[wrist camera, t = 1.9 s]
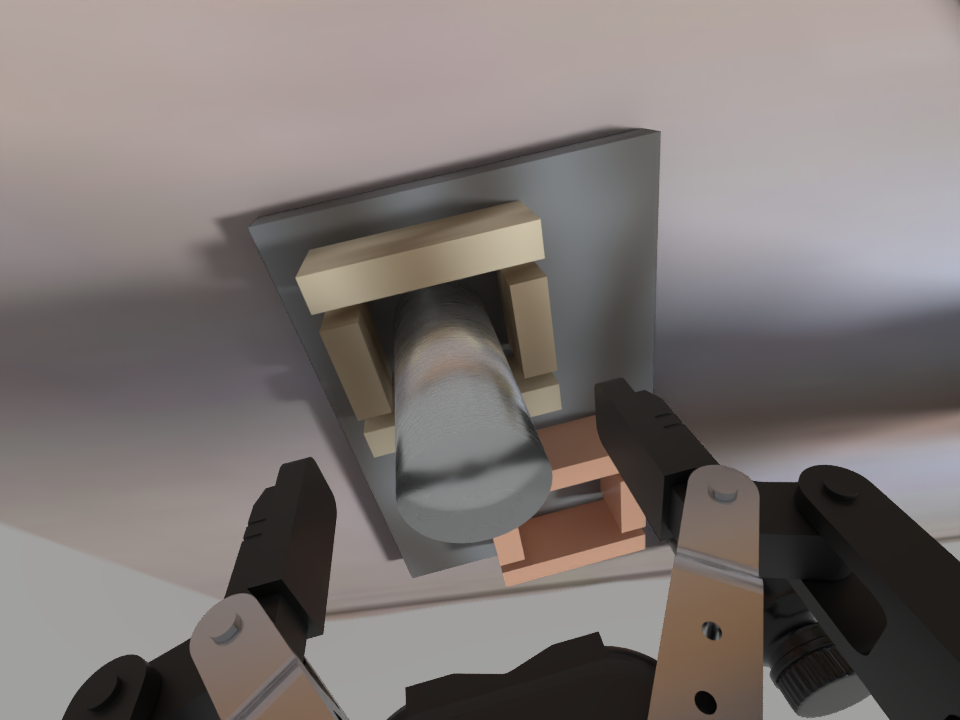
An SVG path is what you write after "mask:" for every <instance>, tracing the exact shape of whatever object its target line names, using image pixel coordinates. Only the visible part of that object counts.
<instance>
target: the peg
mask: <svg viewBox="0 0 960 720" xmlns="http://www.w3.org/2000/svg"><path fill="white" fill-rule="evenodd" d="M394 370H395V476H396V504H397V507H398V510H399V513H400V514H401V516H402V518H403V519H404V520H405V522H406V523H407V524H408V525H409V526H410V527H411V528H412V529H414V530H415V531H417V532H418V533H420V534H422V535H424V536H426V537H429V538H432V539H434V540H438V541H443V542H450V543H472V542H479V541H484V540H489V539H492V538H495V537H499V536H501V535H504V534H506V533H508V532H510V531H512V530H514V529H516V528H518V527H519V526H521V525H522V524H524V523H525V522H526V521H528V520H529V519H530V518H531V517H532V516H533V515H534V514H536V513H537V511H538V510H539V509H540V508H541V507H542V505H543V504H544V502H545V501H546V499H547V497H548V495H549V493H550V489H551V486H552V479H553V477H552V468H551V464H550V462H549V459H548V457H547V454H546V452H545V450H544V447H543V445H542V442H541V440H540V438H539V435H538V433H537V431H536V428H535V426H534V423H533V421H532V419H531V416H530V414H529V412H528V409H527V407H526V404H525V402H524V400H523V397H522V395H521V392H520V390H519V388H518V385H517V383H516V381H515V378H514V376H513V373H512V371H511V369H510V366H509V364H508V362H507V359H506V357H505V354H504V352H503V350H502V347H501V345H500V342H499V340H498V338H497V335H496V333H495V331H494V328H493V326H492V323H491V321H490V319H489V316H488V314H487V312H486V309H485V307H484V304H483V302H482V300H481V298H480V296H479V294H478V293H477V292H476V291H475V289H474V288H473V287H471V286H470V285H469V284H468V283H466V282H464V281H462V280H460V279H458V280H454V281H450V282H446V283H442V284H437V285H433V286H429V287H425V288H421V289H417V290H413V291H409V292H404V293H403V294H402V295H401V297H400V298H399V300H398V302H397V305H396V308H395V312H394Z"/></svg>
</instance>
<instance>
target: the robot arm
mask: <svg viewBox="0 0 960 720" xmlns="http://www.w3.org/2000/svg"><path fill="white" fill-rule="evenodd" d="M594 393H595V412H596V427H597V432H598V435H599V438H600V441H601V443H602V445H603V447H604V448H605V450H606V452H607V453H608V455H609V457H610V458H611V460H612V462H613V463H614V465H615V467H616V468H617V470H618V472H619V473H620V475H621V477H622V478H623V480H624V482H625V483H626V485H627V487H628V488H629V490H630V492H631V493H632V495H633V497H634V498H635V500H636V502H637V503H638V505H639V507H640V508H641V510H642V512H643V513H644V515H645V517H646V518H647V520H648V522H649V523H650V525H651V527H652V528H653V530H654V532H655V533H656V535H657V537H658V538H659V540H660V541H663V540H666V539H670V538H673V537H674V538H675V540H676V541H677V543H678V546H677V551H676V553H675V557H674V563H673V569H672V575H671V582H670V587H669V593H668V600H667V605H666V611H665V618H664V623H663V629H662V635H661V641H660V647H659V653H658V660H655V659H653V658H651V657H649V656H647V655H645V654H642V653H640V652H637V651H633V650H630V649H627V648H621V647H614V646H604V644H603V642H602V639H601V637H600V634H599V632H595V633H592V634H589V635H585V636H581V637H578V638H575V639H571V640H568V641H564V642H561V643H557V644H554V645H551V646H550V647H548V648H547V649H545V650H543V651H542V652H540V653H539V654H537V655H536V656H534V657H532V658H531V659H529V660H528V661H526V662H525V663H523V664H521V665H520V666H518V667H517V668H515V669H514V670H512V671H510V672H508V673H506V674H451V675H447V676H444V677H440V678H437V679H433V680H430V681H426V682H423V683H419V684H416V685H413V686H409V687H406V705H405V706H403V707H401V708H400V709H399V710H397V711H396V712H395V713H394V714H393V715H392V716H390V717H389V718H388V719H387V720H763V580H762V578H761V577H763V578H782V579H787V581H788V582H789V583H790V585H791V586H792V587H793V589H794V590H795V591H796V593H797V594H798V595H799V597H800V598H801V600H802V601H803V602H804V604H805V605H806V606H807V608H808V609H809V610H810V612H811V613H812V615H813V616H814V617H815V619H816V620H817V621H818V623H819V624H820V625H821V627H822V628H823V630H824V631H825V632H826V634H827V635H828V636H829V638H830V639H831V640H832V642H833V643H834V645H835V646H836V647H837V649H838V650H839V651H840V653H841V654H842V655H843V657H844V658H845V659H846V661H847V662H848V664H849V665H850V666H851V668H852V669H853V670H854V672H855V673H856V674H857V676H858V677H859V679H860V680H861V681H862V683H863V684H864V685H865V687H866V688H867V689H868V691H869V692H870V694H871V695H872V696H873V698H874V699H875V700H876V702H877V703H878V704H879V706H880V707H881V708H882V710H883V711H884V713H885V714H886V715H887V717H888V718H889V719H890V720H960V562H959V561H958V560H957V559H956V558H955V557H954V556H953V555H952V554H951V553H949V552H948V551H947V550H946V549H945V548H944V547H943V546H942V545H940V544H939V543H938V542H937V541H936V540H935V539H934V538H933V537H932V536H930V535H929V534H928V533H927V532H926V531H925V530H924V529H923V528H921V527H920V526H919V525H918V524H917V523H916V522H915V521H914V520H913V519H911V518H910V517H909V516H908V515H907V514H906V513H905V512H904V511H902V510H901V509H900V508H899V507H898V506H897V505H896V504H895V503H894V502H892V501H891V500H890V499H889V498H888V497H887V496H886V495H885V494H883V493H882V492H881V491H880V490H879V489H878V488H877V487H876V486H875V485H873V484H872V483H871V482H870V481H869V480H867V479H866V478H864V477H863V476H861V475H859V474H857V473H855V472H853V471H851V470H848V469H845V468H842V467H838V466H832V465H817V466H812V467H809V468H807V469H805V470H804V471H803V472H802V473H801V475H800V477H799V480H798V482H757V481H752V480H751V479H750V478H749V477H748V476H747V475H745V474H744V473H742V472H740V471H738V470H736V469H734V468H731V467H727V466H722V465H720V464H719V463H718V462H717V461H716V460H715V459H714V458H713V457H712V456H711V454H710V453H709V452H708V451H707V450H706V449H705V448H704V446H703V445H702V444H701V443H700V442H699V441H698V440H697V438H696V437H695V436H694V435H693V434H692V433H691V432H690V430H689V429H688V428H687V427H686V426H685V425H683V424H682V421H681V420H680V419H679V418H678V417H677V416H676V414H673V411H672V410H671V409H670V408H669V406H668V405H667V404H666V403H665V402H664V401H663V400H662V399H661V398H659V397H657V396H656V395H654V394H652V393H650V392H648V391H646V390H642V391H639V392H635V391H634V390H633V389H632V388H631V386H630V385H629V384H628V383H627V382H626V380H625V379H624V378H622V377H619V378H616V379H612V380H608V381H604V382H600V383H596V384H595V387H594ZM336 517H337V509H336V502H335V499H334V496H333V493H332V491H331V489H330V488H329V486H328V484H327V482H326V480H325V478H324V476H323V475H322V473H321V471H320V469H319V467H318V465H317V464H316V462H315V460H314V459H313V458H311V457H308V458H305V459H301V460H297V461H293V462H289V463H285V464H283V465H282V466H281V467H280V470H279V473H278V477H277V481H276V484H275V486H273V487H269V488H266V489H265V490H264V492H263V493H262V494H261V496H260V497H259V499H258V500H257V501H256V503H255V504H254V506H253V508H252V512H251V515H250V518H249V521H248V527H247V528H246V531H245V534H244V537H243V539H244V541H243V542H242V544H241V547H240V550H239V553H238V556H237V559H236V563H235V566H234V569H233V572H232V575H231V579H230V582H229V585H228V588H227V591H226V595H225V597H224V599H223V600H222V601H220V602H218V603H217V604H216V605H214V606H213V607H212V608H211V609H210V610H209V611H208V612H207V613H206V614H205V615H204V616H203V617H202V619H201V620H200V621H199V623H198V624H197V626H196V628H195V629H194V632H193V634H192V637H191V638H190V639H188V640H187V641H185V642H184V643H182V644H180V645H178V646H177V647H175V648H173V649H171V650H170V651H168V652H166V653H164V654H163V655H161V656H159V657H158V658H156V659H154V660H152V661H151V662H149V663H148V662H146V661H145V660H144V659H142V658H141V657H140V656H138V655H125V656H121V657H119V658H116V659H114V660H112V661H110V662H109V663H107V664H106V665H104V666H103V667H101V668H100V669H99V670H97V671H96V672H95V673H94V674H93V675H92V676H91V677H90V678H89V679H88V680H87V681H86V682H85V683H84V684H83V685H82V686H81V687H80V689H79V690H78V691H77V693H76V694H75V696H74V697H73V699H72V701H71V702H70V704H69V706H68V708H67V710H66V712H65V714H64V716H63V719H62V720H349V718H348V717H347V716H346V714H345V713H344V711H343V710H342V709H341V707H340V706H339V704H338V703H337V701H336V700H335V699H334V697H333V696H332V694H331V693H330V691H329V690H328V689H327V687H326V686H325V684H324V683H323V682H322V680H321V679H320V677H319V676H318V674H317V673H316V672H315V670H314V669H313V667H312V666H311V664H310V663H309V662H308V660H307V659H306V658H305V656H304V653H305V646H306V639H309V638H312V637H316V636H319V635H323V631H324V623H325V614H326V605H327V596H328V588H329V579H330V570H331V561H332V552H333V544H334V535H335V526H336Z"/></svg>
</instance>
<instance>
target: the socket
mask: <svg viewBox="0 0 960 720" xmlns="http://www.w3.org/2000/svg"><path fill="white" fill-rule="evenodd" d="M536 431H537V433H538V435H539V438H540V440H541V442H542V445H543V447H544V450H545V452H546V454H547V457H548V459H549V462H550V464H551V468H552V477H553V479H552V486H551V489H550V491H554V490H557V489H561V488H565V487H569V486H572V485H576V484H580V483H584V482H588V481H591V480H595V479H599V478H600V488H601V494H602V496H603V498H604V499H602V500H598V501H595V502H591V503H587V504H583V505H580V506H576V507H572V508H568V509H565V510H561V511H557V512H553V513H550V514H546V515H542V516H539V517H535V518H531V519H529V520H528V521H526V522H525V523H524V524H522V525H521V526H519V527H518V528H516V529H514V530H512V531H510V532H508V533H506V534H504V535H501V536H499V537H495V538H493V540H494V544H495V547H496V551H497V555H498V558H499V562H500V566H501V568H502V573H503V576H504V580H505V584H506V587H508V586H512V585H515V584H519V583H523V582H526V581H530V580H534V579H537V578H541V577H545V576H548V575H552V574H556V573H559V572H563V571H567V570H570V569H574V568H578V567H581V566H585V565H588V564H592V563H596V562H599V561H603V560H607V559H610V558H614V557H618V556H621V555H625V554H629V553H632V552H636V551H640V550H643V549H645V533H644V531H643V529H642V527H646V517H645V515H644V513H643V512H642V510H641V508H640V507H639V505H638V503H637V502H636V500H635V498H634V497H633V495H632V493H631V492H630V490H629V488H628V487H627V485H626V483H625V482H624V480H623V478H622V477H621V475H620V473H619V472H618V470H617V468H616V467H615V465H614V463H613V462H612V460H611V458H610V457H609V455H608V453H607V452H606V450H605V448H604V447H603V445H602V443H601V441H600V438H599V435H598V432H597V427H596V415H593V416H589V417H585V418H581V419H578V420H574V421H570V422H566V423H562V424H558V425H554V426H551V427H547V428H543V429H539V430H536Z"/></svg>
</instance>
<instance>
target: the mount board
mask: <svg viewBox="0 0 960 720" xmlns="http://www.w3.org/2000/svg"><path fill="white" fill-rule="evenodd" d="M660 135H661V131H655V130H649V129H643V128H641V129H637V130H633V131H629V132H624V133H620V134H616V135H611V136H607V137H603V138H598V139H594V140H590V141H585V142H581V143H577V144H573V145H568V146H564V147H560V148H555V149H551V150H547V151H542V152H538V153H534V154H530V155H525V156H521V157H517V158H512V159H508V160H504V161H499V162H495V163H491V164H487V165H482V166H478V167H474V168H469V169H465V170H461V171H456V172H452V173H448V174H443V175H439V176H435V177H431V178H426V179H422V180H418V181H413V182H409V183H405V184H400V185H396V186H392V187H388V188H383V189H379V190H375V191H370V192H366V193H362V194H357V195H353V196H349V197H345V198H340V199H336V200H332V201H327V202H323V203H319V204H314V205H310V206H306V207H301V208H297V209H293V210H289V211H284V212H280V213H276V214H271V215H267V216H263V217H258V218H257V219H256V220H255V221H254V222H253V223H252V224H251V225H250V226H249V227H248V230H249V232H250V234H251V236H252V238H253V240H254V242H255V244H256V247H257V249H258V251H259V253H260V255H261V257H262V259H263V261H264V264H265V266H266V268H267V270H268V272H269V274H270V276H271V278H272V281H273V283H274V285H275V287H276V289H277V291H278V293H279V295H280V298H281V300H282V302H283V304H284V306H285V308H286V310H287V312H288V315H289V317H290V319H291V321H292V323H293V325H294V327H295V329H296V332H297V334H298V336H299V338H300V340H301V342H302V344H303V347H304V349H305V351H306V353H307V355H308V357H309V359H310V361H311V364H312V366H313V368H314V370H315V372H316V374H317V376H318V378H319V381H320V383H321V385H322V387H323V389H324V391H325V393H326V395H327V398H328V400H329V402H330V404H331V406H332V408H333V410H334V412H335V415H336V417H337V419H338V421H339V423H340V425H341V427H342V429H343V432H344V434H345V436H346V438H347V440H348V442H349V444H350V446H351V449H352V451H353V453H354V455H355V457H356V459H357V461H358V464H359V466H360V468H361V470H362V472H363V474H364V476H365V478H366V481H367V483H368V485H369V487H370V489H371V491H372V493H373V495H374V498H375V500H376V502H377V504H378V506H379V508H380V510H381V512H382V515H383V517H384V519H385V521H386V523H387V525H388V527H389V529H390V532H391V534H392V536H393V538H394V540H395V542H396V544H397V546H398V549H399V551H400V553H401V555H402V557H403V559H404V561H405V563H406V566H407V568H408V570H409V572H410V574H411V576H412V578H415V577H419V576H422V575H426V574H430V573H433V572H437V571H441V570H444V569H448V568H452V567H456V566H459V565H463V564H467V563H470V562H474V561H478V560H481V559H485V558H489V557H493V556H496V555H497V551H496V547H495V544H494V540H493V538H492V539H489V540H484V541H479V542H472V543H450V542H443V541H438V540H434V539H432V538H429V537H426V536H424V535H422V534H420V533H418V532H417V531H415V530H414V529H412V528H411V527H410V526H409V525H408V524H407V523H406V522H405V520H404V519H403V518H402V516H401V514H400V513H399V510H398V507H397V504H396V476H395V370H394V312H395V308H396V305H397V302H398V300H399V298H400V297H401V295H402V294H403V293H404V292H409V291H413V290H417V289H421V288H425V287H429V286H433V285H437V284H442V283H446V282H450V281H454V280H458V279H460V280H462V281H464V282H466V283H468V284H469V285H470V286H471V287H473V288H474V289H475V291H476V292H477V293H478V294H479V296H480V298H481V300H482V302H483V304H484V307H485V309H486V312H487V314H488V316H489V319H490V321H491V323H492V326H493V328H494V331H495V333H496V335H497V338H498V340H499V342H500V345H501V347H502V350H503V352H504V354H505V357H506V359H507V362H508V364H509V366H510V369H511V371H512V373H513V376H514V378H515V381H516V383H517V385H518V388H519V390H520V392H521V395H522V397H523V400H524V402H525V404H526V407H527V409H528V412H529V414H530V416H531V419H532V421H533V423H534V426H535V428H536V430H539V429H543V428H547V427H551V426H554V425H558V424H562V423H566V422H570V421H574V420H578V419H581V418H585V417H589V416H593V415H596V412H595V393H594V387H595V384H596V383H600V382H604V381H608V380H612V379H616V378H619V377H622V378H624V379H625V380H626V382H627V383H628V384H629V385H630V386H631V388H632V389H633V390H634V391H635V392H639V391H642V390H646V391H648V392H650V393H652V394H653V372H654V338H655V304H656V270H657V237H658V203H659V169H660ZM602 499H604V498H603V496H602V494H601V488H600V478H599V479H595V480H591V481H588V482H584V483H580V484H576V485H572V486H569V487H565V488H561V489H557V490H554V491H550V493H549V495H548V497H547V499H546V501H545V502H544V504H543V505H542V507H541V508H540V509H539V510H538V511H537V513H536V514H534V515H533V516H532V517H531V518H535V517H539V516H542V515H546V514H550V513H553V512H557V511H561V510H565V509H568V508H572V507H576V506H580V505H583V504H587V503H591V502H595V501H598V500H602ZM531 518H530V519H531Z"/></svg>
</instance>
